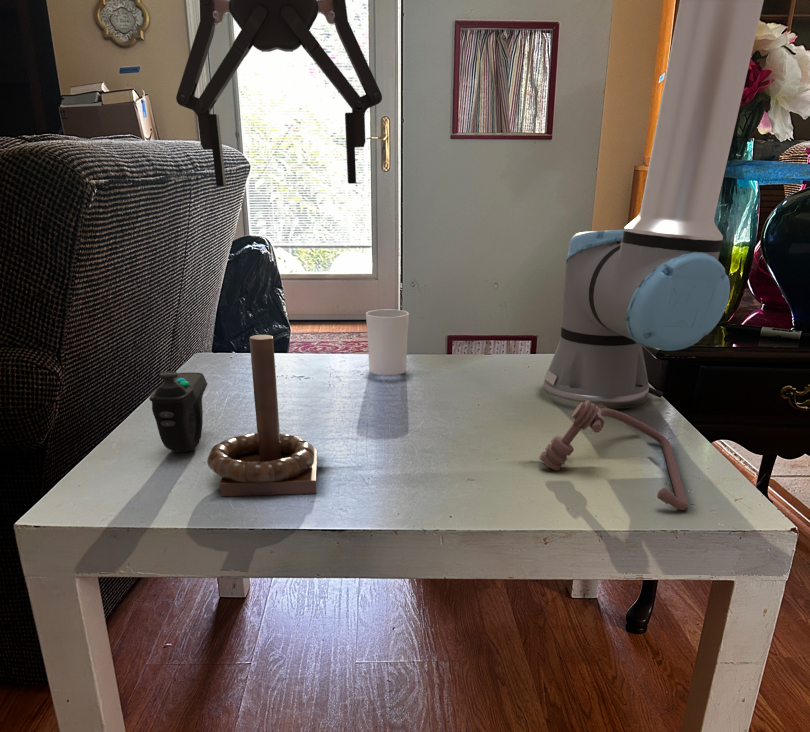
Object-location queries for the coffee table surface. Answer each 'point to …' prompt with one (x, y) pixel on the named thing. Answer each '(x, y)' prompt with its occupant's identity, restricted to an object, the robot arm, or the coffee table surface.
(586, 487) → the coffee table surface
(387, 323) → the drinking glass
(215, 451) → the ring
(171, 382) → the controller
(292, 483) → the stand
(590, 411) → the toilet paper hanger
